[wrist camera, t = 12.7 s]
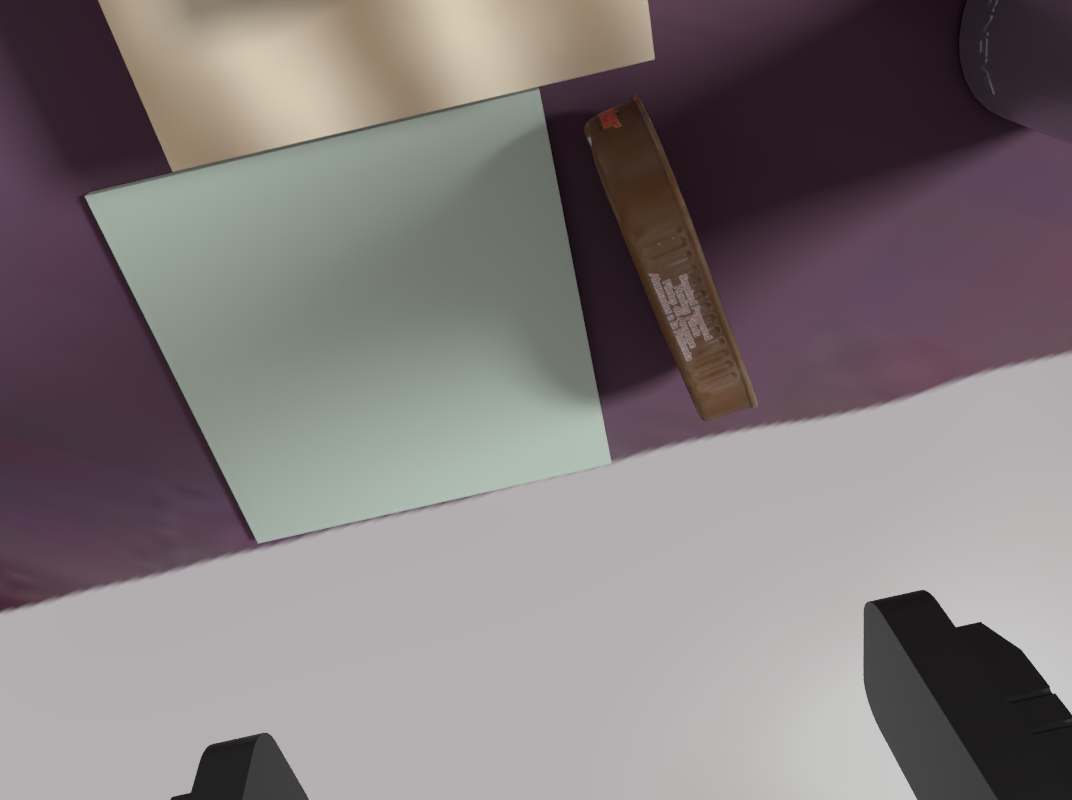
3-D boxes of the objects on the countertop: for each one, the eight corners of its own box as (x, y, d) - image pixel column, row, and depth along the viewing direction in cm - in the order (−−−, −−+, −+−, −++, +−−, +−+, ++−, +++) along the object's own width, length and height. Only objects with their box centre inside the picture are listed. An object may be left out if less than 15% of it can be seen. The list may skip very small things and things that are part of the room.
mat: (537, 86, 36) (539, 89, 35) (609, 457, 46) (611, 463, 46) (89, 192, 36) (84, 196, 36) (259, 536, 47) (257, 543, 46)
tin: (729, 349, 44) (786, 437, 36) (673, 373, 44) (718, 465, 37) (626, 73, 36) (672, 114, 29) (560, 105, 36) (589, 154, 29)
